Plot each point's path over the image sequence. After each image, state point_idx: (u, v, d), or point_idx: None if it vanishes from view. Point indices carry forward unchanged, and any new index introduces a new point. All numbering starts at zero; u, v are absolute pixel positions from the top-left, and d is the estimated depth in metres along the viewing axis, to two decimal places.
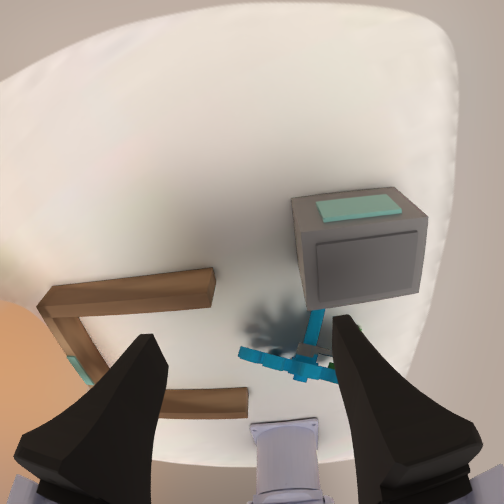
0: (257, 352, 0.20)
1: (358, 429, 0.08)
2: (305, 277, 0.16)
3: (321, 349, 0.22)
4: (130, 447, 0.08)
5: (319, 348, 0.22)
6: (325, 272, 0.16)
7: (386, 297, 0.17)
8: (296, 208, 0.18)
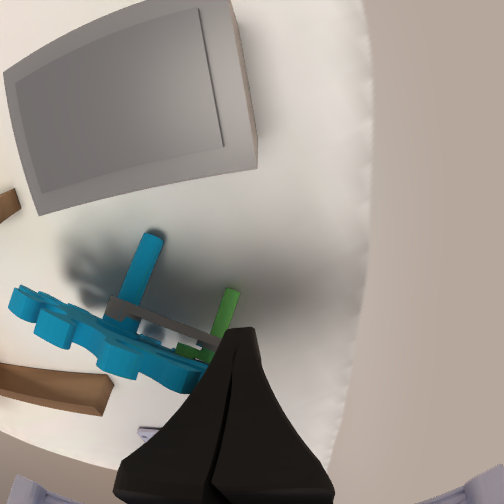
0: (26, 292, 0.10)
1: None
2: (19, 148, 0.07)
3: (140, 312, 0.12)
4: None
5: (136, 308, 0.12)
6: (33, 128, 0.07)
7: (171, 179, 0.08)
8: None
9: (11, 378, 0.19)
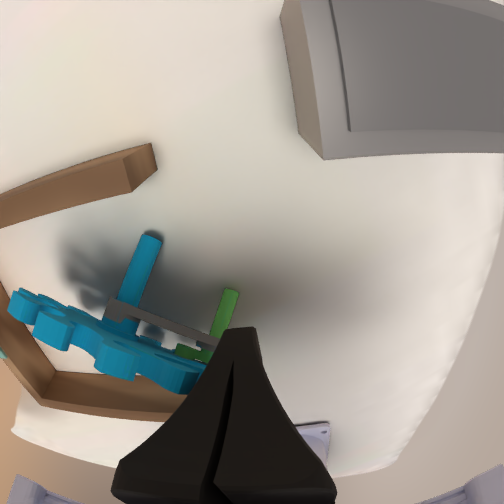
0: (25, 294, 0.10)
1: None
2: (313, 68, 0.06)
3: (139, 313, 0.12)
4: None
5: (135, 309, 0.12)
6: (357, 52, 0.06)
7: (477, 149, 0.07)
8: None
9: (79, 389, 0.18)
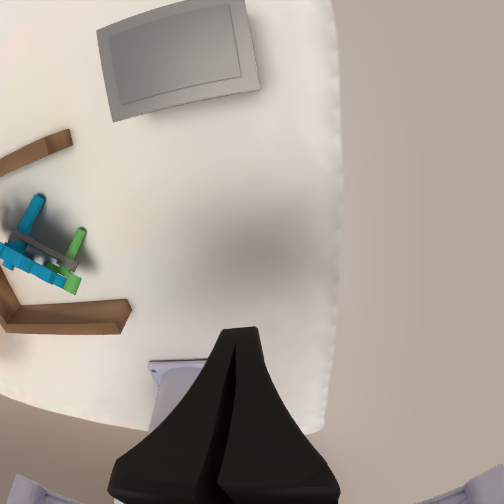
0: None
1: None
2: (105, 78, 0.12)
3: (24, 237, 0.18)
4: None
5: (22, 235, 0.18)
6: (120, 64, 0.11)
7: (209, 95, 0.12)
8: None
9: (33, 314, 0.24)
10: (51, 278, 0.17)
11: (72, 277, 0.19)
